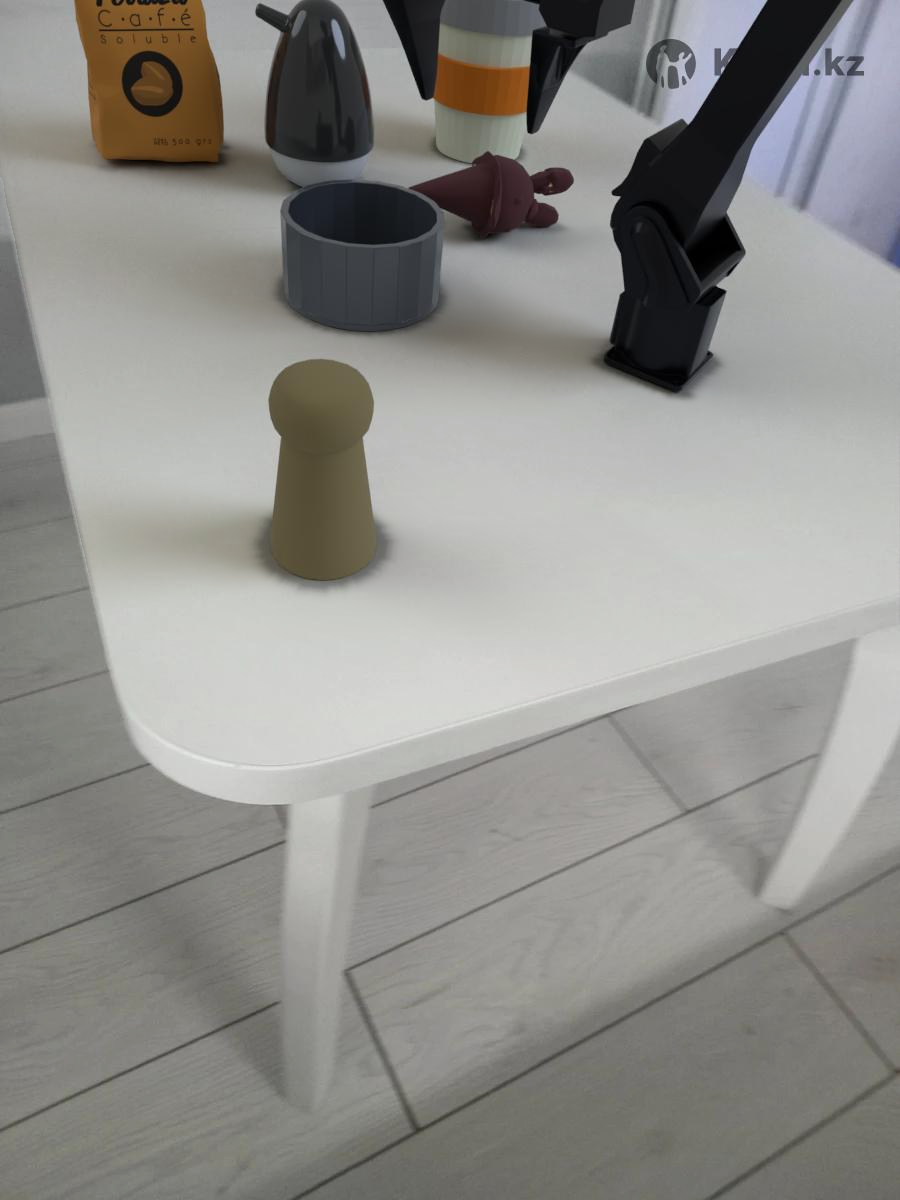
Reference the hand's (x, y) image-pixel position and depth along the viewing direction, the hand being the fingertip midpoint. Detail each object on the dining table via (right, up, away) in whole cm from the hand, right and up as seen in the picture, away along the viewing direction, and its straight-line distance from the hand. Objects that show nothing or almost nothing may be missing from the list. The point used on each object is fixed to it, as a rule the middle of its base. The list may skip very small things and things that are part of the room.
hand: (478, 115), depth 67 cm
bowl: (-9, -11, +7) cm, 16 cm away
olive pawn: (-9, -32, -15) cm, 37 cm away
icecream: (+1, -2, +17) cm, 17 cm away
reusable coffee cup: (+1, +13, +31) cm, 34 cm away
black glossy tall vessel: (-15, +5, +22) cm, 27 cm away
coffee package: (-30, +9, +23) cm, 39 cm away
